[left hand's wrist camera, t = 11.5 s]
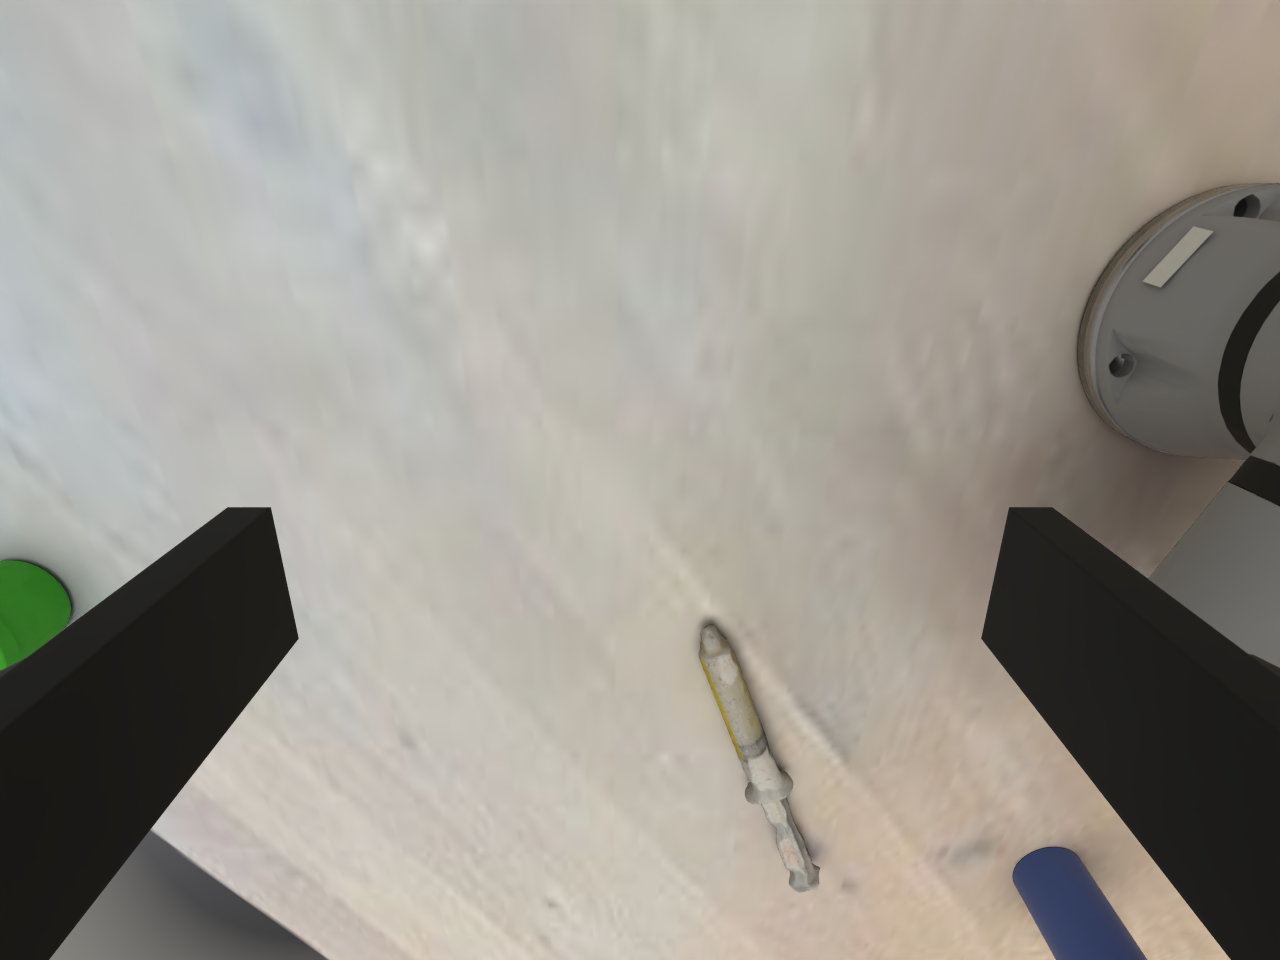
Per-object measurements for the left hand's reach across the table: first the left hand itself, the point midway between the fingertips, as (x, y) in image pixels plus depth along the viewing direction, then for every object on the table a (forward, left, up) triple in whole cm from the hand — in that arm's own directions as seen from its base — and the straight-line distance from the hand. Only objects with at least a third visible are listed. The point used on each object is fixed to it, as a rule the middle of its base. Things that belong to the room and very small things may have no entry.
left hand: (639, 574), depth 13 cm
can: (-51, +24, -31) cm, 64 cm away
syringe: (-24, +24, -31) cm, 46 cm away
